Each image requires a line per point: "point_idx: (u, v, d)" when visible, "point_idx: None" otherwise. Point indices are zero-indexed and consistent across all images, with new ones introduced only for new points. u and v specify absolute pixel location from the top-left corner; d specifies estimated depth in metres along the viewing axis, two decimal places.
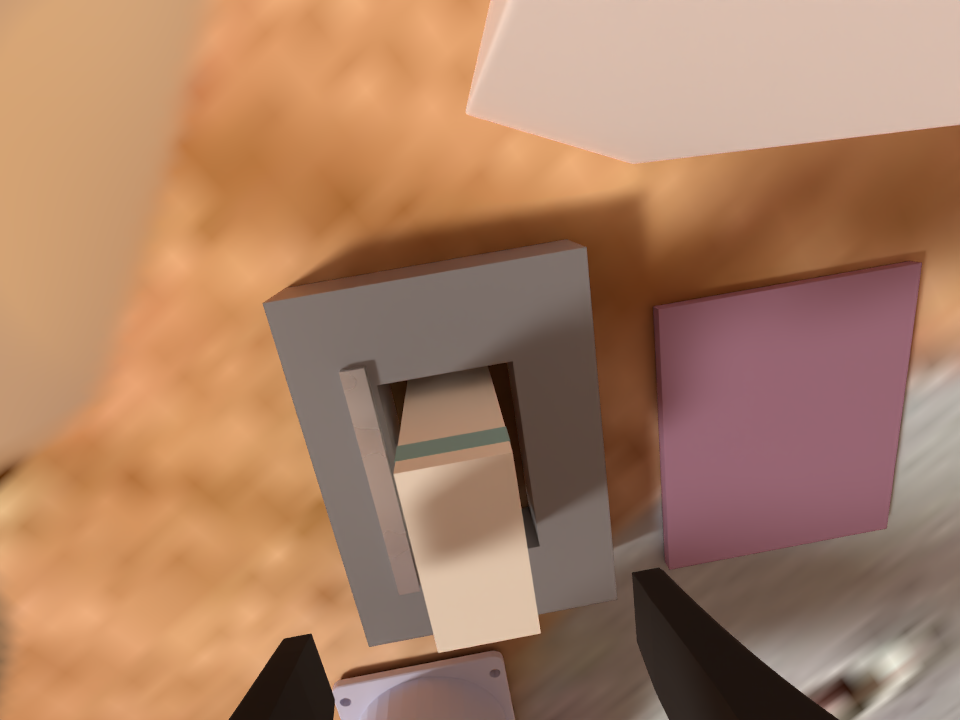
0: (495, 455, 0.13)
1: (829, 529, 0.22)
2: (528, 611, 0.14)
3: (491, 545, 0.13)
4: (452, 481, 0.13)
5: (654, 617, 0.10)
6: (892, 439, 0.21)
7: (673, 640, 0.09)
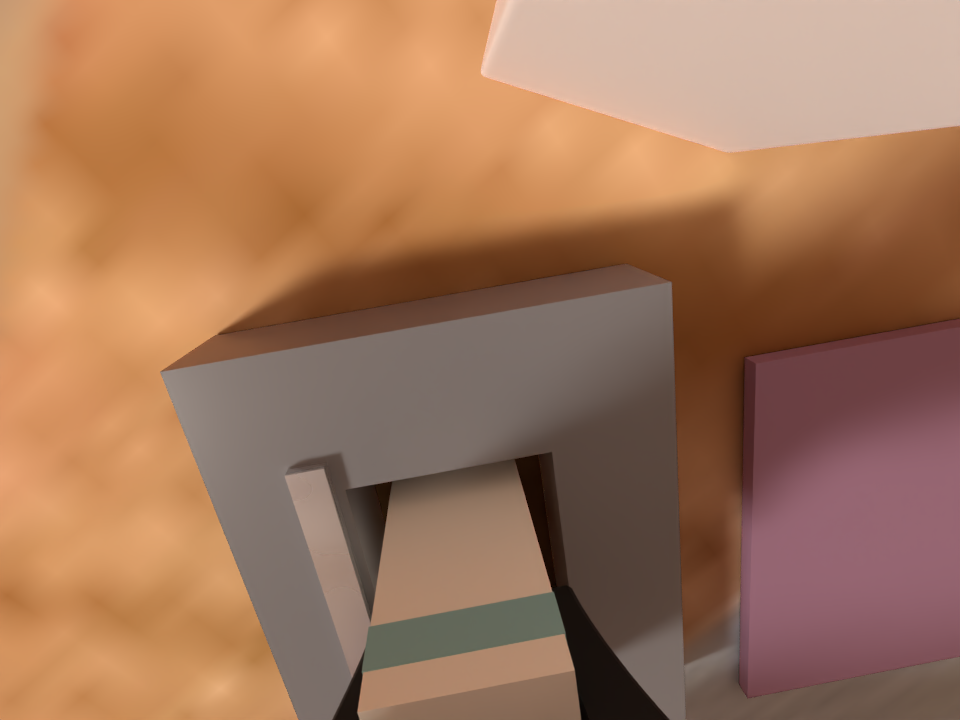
0: (543, 675, 0.07)
1: None
2: None
3: None
4: (465, 719, 0.07)
5: None
6: None
7: None
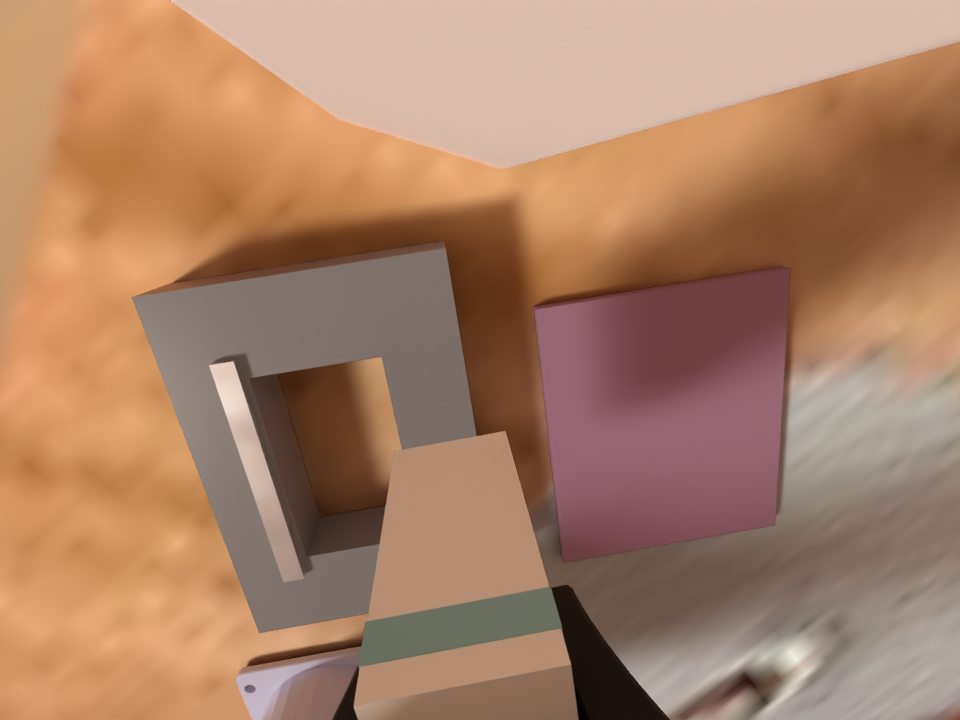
0: (539, 669, 0.07)
1: (719, 525, 0.23)
2: None
3: None
4: (461, 713, 0.07)
5: None
6: (774, 438, 0.22)
7: None
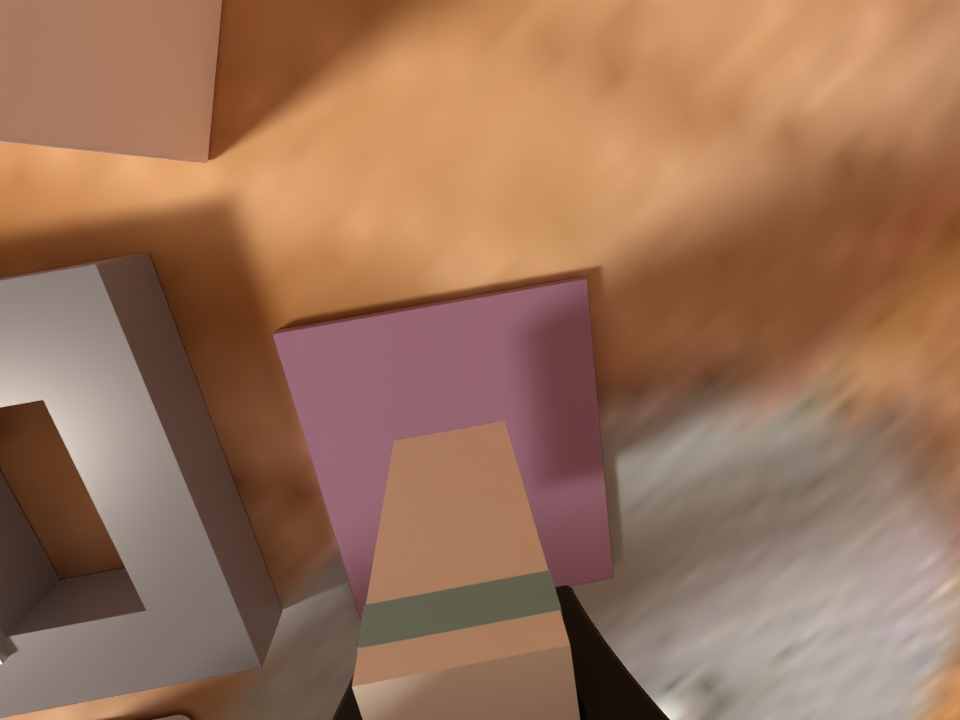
0: (538, 650, 0.07)
1: None
2: None
3: None
4: (460, 694, 0.07)
5: None
6: (597, 479, 0.18)
7: None
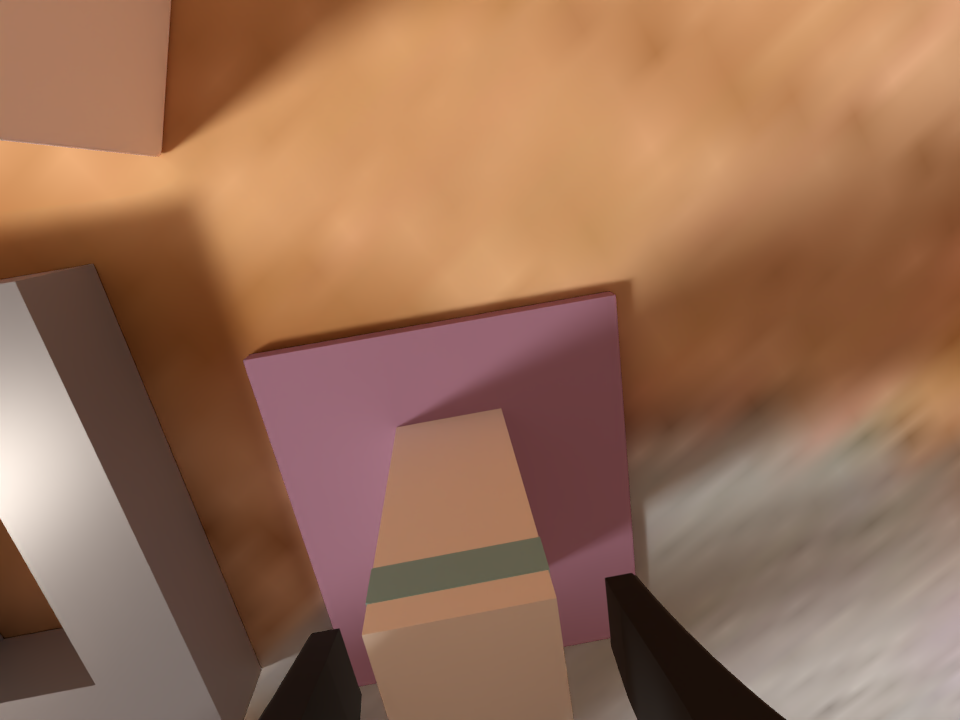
0: (528, 602, 0.08)
1: None
2: None
3: None
4: (458, 642, 0.08)
5: (624, 623, 0.10)
6: (623, 524, 0.16)
7: (640, 646, 0.09)
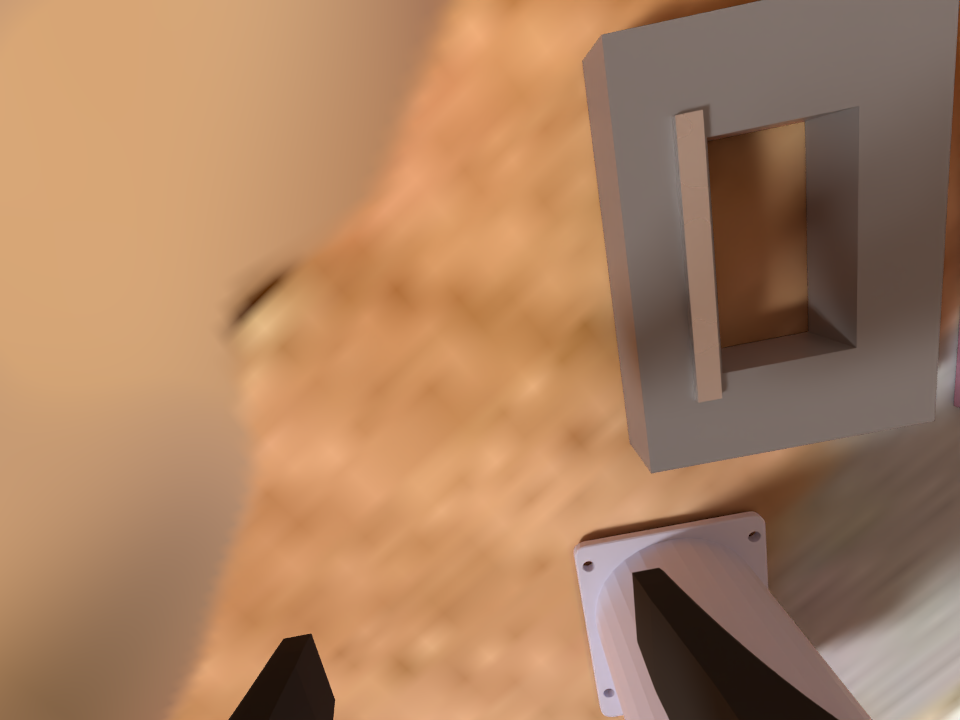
0: None
1: None
2: None
3: None
4: None
5: (654, 617, 0.10)
6: None
7: (673, 640, 0.09)
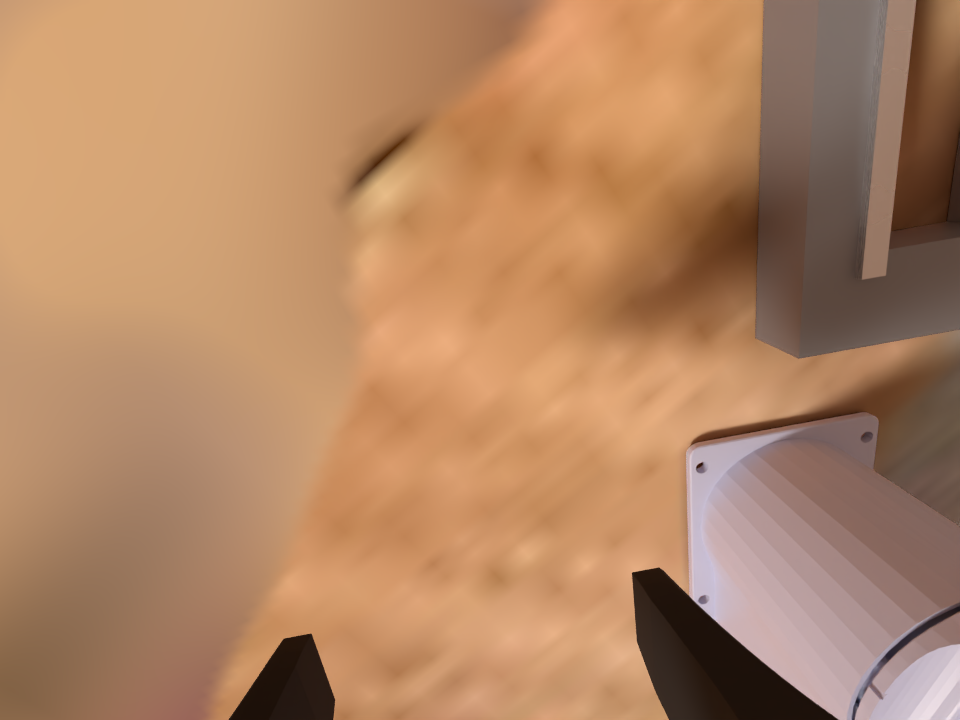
0: None
1: None
2: None
3: None
4: None
5: (654, 617, 0.10)
6: None
7: (673, 640, 0.09)
